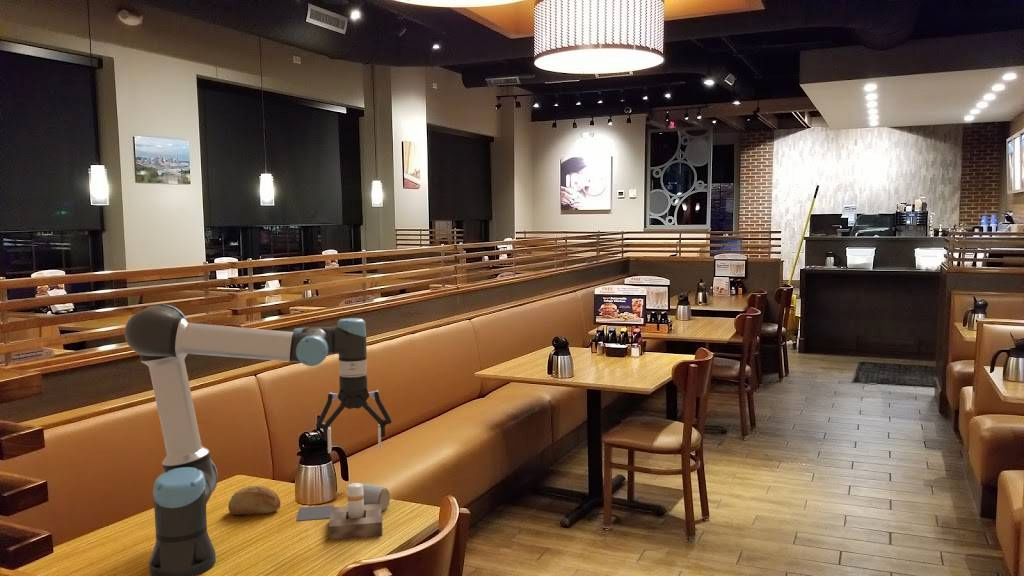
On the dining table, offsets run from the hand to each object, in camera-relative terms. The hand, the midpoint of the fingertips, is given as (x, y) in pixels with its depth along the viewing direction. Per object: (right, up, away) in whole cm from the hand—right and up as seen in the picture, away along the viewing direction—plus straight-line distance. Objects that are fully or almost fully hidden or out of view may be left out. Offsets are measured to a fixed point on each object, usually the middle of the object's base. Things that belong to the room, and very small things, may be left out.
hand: (354, 450), depth 205 cm
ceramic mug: (+2, -21, +17) cm, 27 cm away
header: (0, -22, +2) cm, 22 cm away
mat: (-14, -22, +12) cm, 29 cm away
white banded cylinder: (0, -22, +2) cm, 22 cm away
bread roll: (-33, -22, +14) cm, 42 cm away
